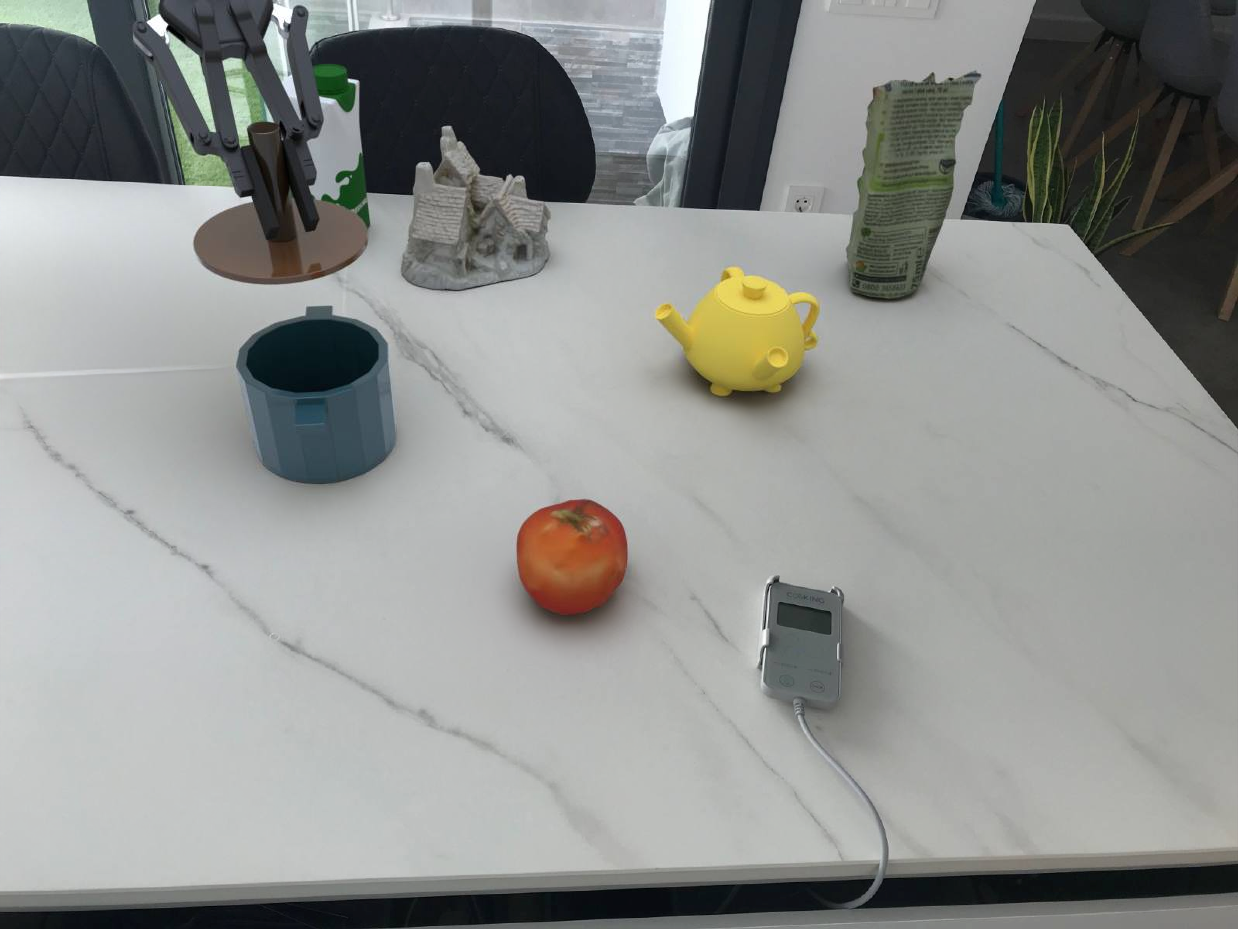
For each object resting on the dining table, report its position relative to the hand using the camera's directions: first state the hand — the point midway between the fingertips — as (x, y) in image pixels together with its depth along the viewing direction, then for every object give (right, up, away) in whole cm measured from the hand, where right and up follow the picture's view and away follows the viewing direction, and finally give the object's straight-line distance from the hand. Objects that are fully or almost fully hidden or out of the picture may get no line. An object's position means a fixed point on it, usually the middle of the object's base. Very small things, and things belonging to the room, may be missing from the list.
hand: (292, 228), depth 76 cm
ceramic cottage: (+8, +6, +42) cm, 43 cm away
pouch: (+57, +5, +46) cm, 74 cm away
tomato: (+21, -28, +4) cm, 36 cm away
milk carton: (-10, +10, +45) cm, 47 cm away
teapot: (+37, -9, +27) cm, 47 cm away
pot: (-2, -16, +15) cm, 22 cm away
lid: (-2, 0, +4) cm, 5 cm away
